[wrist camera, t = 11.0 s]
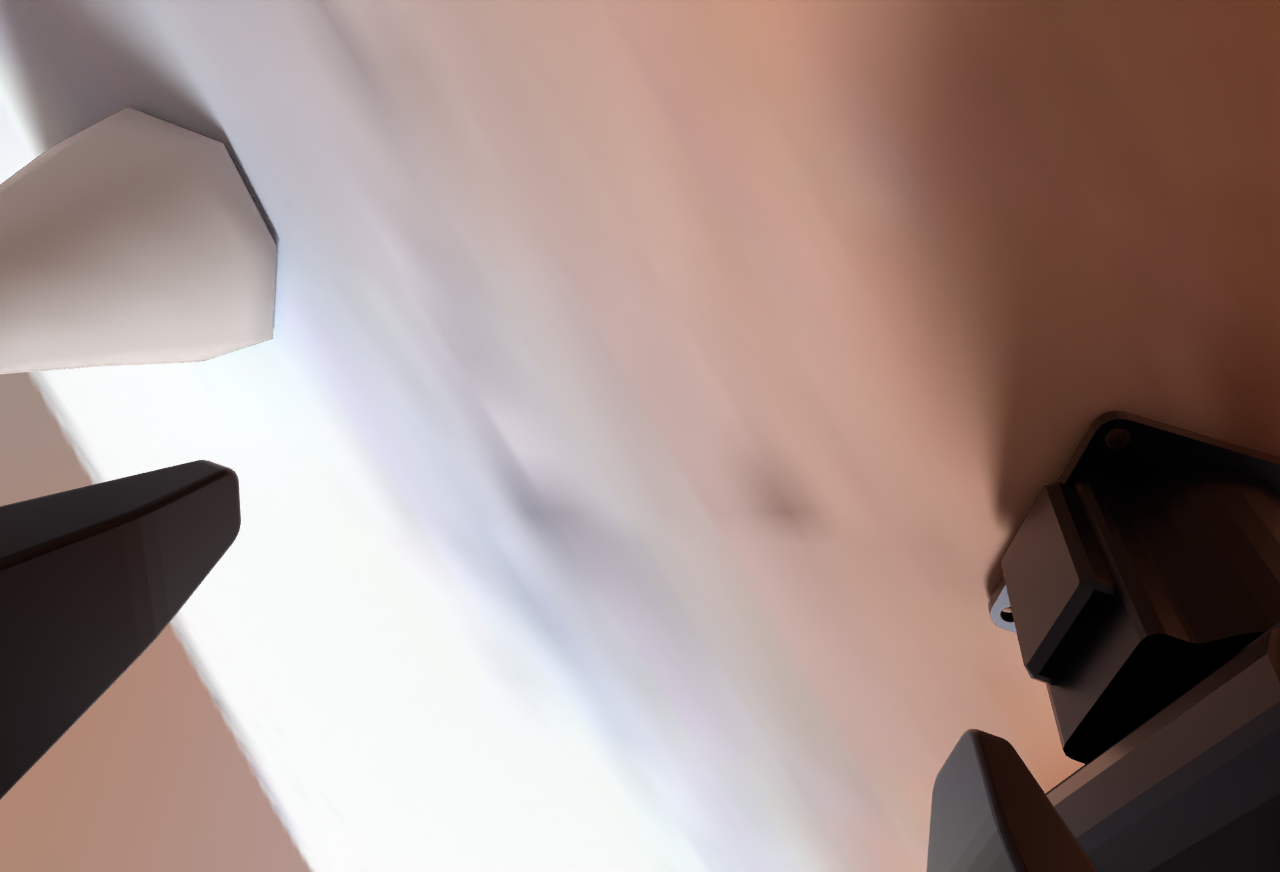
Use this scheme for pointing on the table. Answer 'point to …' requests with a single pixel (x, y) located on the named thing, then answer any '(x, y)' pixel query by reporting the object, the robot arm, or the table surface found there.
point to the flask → (131, 252)
